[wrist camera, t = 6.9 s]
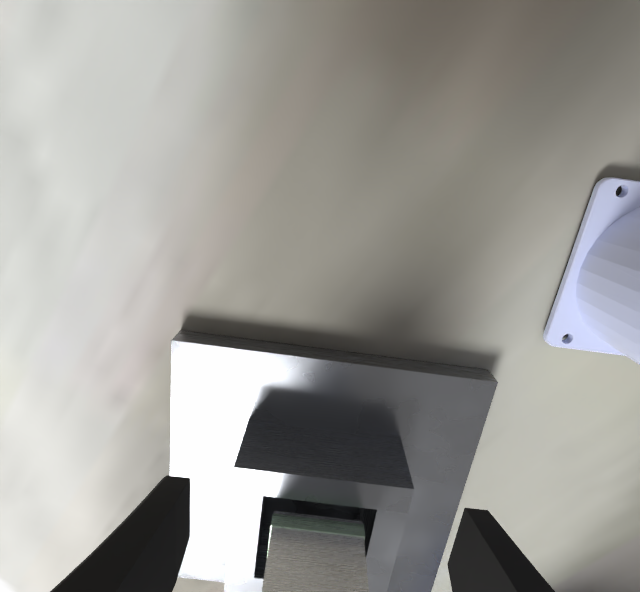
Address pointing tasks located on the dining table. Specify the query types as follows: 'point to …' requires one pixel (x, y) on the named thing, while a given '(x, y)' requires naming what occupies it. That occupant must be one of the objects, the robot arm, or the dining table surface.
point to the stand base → (320, 452)
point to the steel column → (315, 554)
